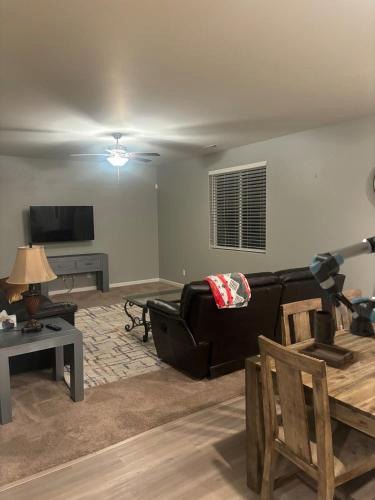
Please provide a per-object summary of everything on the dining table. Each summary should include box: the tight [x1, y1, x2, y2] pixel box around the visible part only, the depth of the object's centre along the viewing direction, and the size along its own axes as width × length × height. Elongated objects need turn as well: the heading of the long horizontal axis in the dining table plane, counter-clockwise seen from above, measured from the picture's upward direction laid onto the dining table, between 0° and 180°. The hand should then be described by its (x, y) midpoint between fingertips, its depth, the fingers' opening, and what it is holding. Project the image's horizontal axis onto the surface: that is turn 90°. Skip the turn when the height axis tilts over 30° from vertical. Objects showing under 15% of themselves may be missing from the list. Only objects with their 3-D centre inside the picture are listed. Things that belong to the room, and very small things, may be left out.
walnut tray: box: [297, 341, 354, 369], centre depth 201 cm, size 18×22×4 cm
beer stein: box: [313, 310, 337, 347], centre depth 217 cm, size 15×11×20 cm
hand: (350, 316), depth 213 cm, fingers open, 13 cm apart
